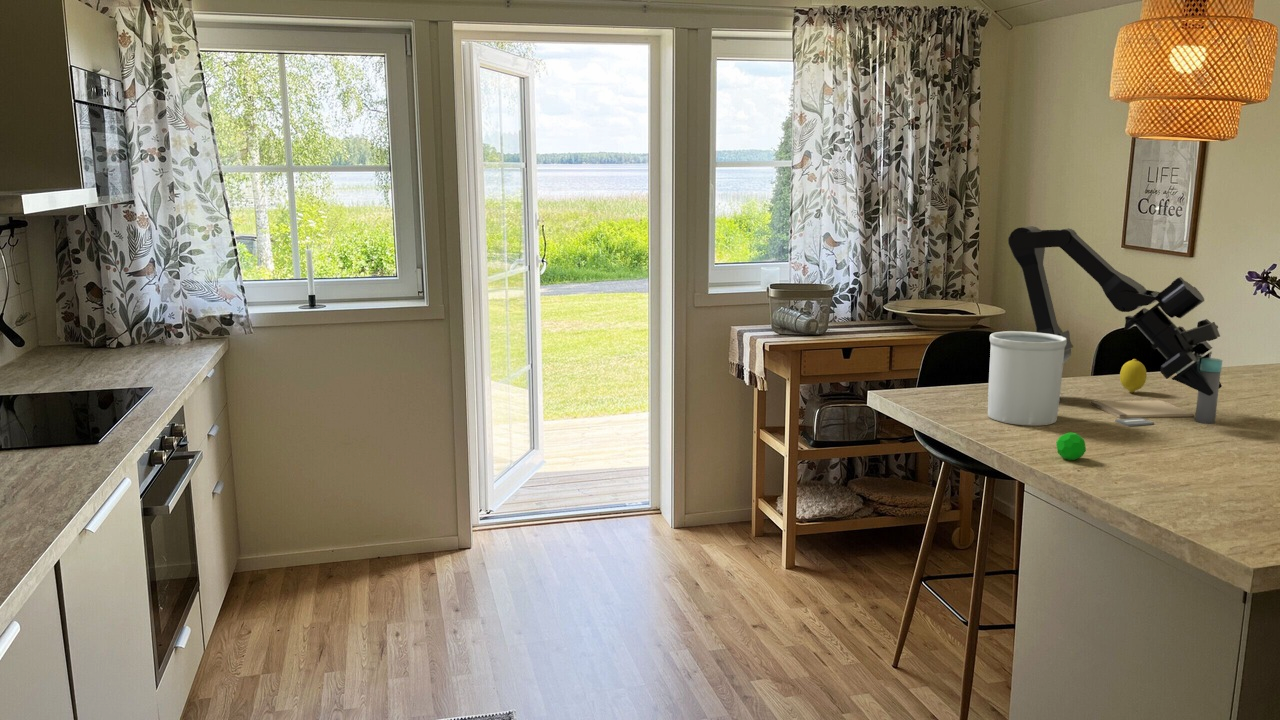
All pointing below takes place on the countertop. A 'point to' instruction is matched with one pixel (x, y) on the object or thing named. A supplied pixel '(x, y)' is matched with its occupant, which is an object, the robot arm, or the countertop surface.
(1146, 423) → the word tile
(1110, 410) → the notepad
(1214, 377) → the marker
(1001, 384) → the utensil holder
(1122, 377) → the lemon
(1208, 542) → the countertop surface
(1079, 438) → the polyhedron
